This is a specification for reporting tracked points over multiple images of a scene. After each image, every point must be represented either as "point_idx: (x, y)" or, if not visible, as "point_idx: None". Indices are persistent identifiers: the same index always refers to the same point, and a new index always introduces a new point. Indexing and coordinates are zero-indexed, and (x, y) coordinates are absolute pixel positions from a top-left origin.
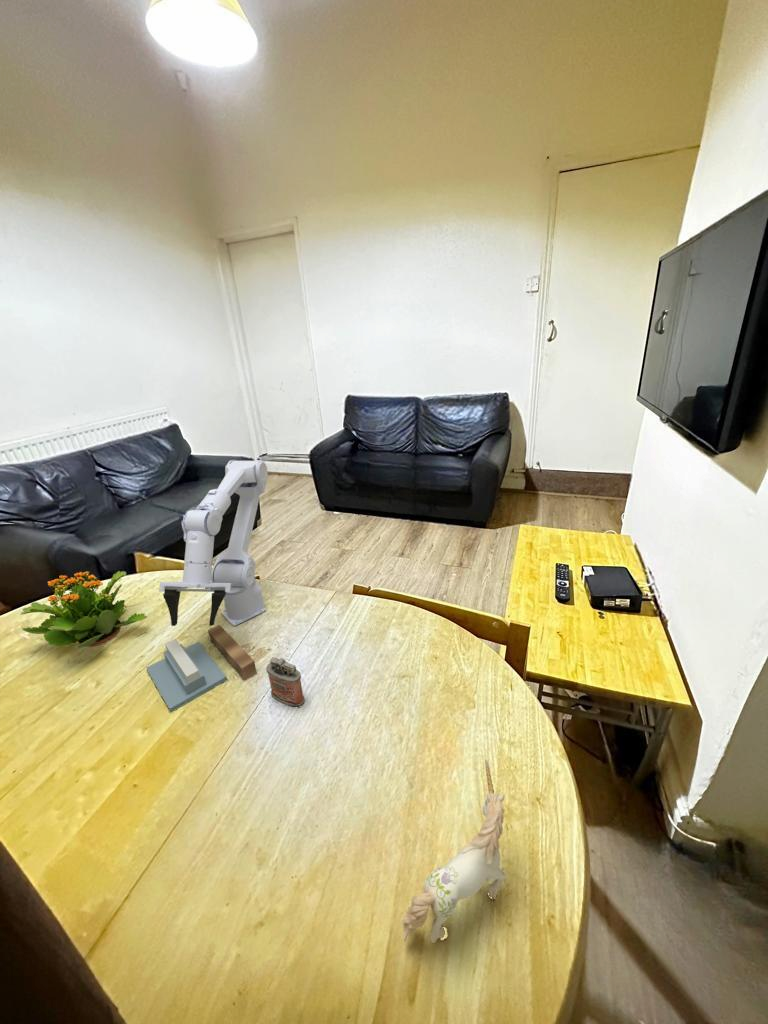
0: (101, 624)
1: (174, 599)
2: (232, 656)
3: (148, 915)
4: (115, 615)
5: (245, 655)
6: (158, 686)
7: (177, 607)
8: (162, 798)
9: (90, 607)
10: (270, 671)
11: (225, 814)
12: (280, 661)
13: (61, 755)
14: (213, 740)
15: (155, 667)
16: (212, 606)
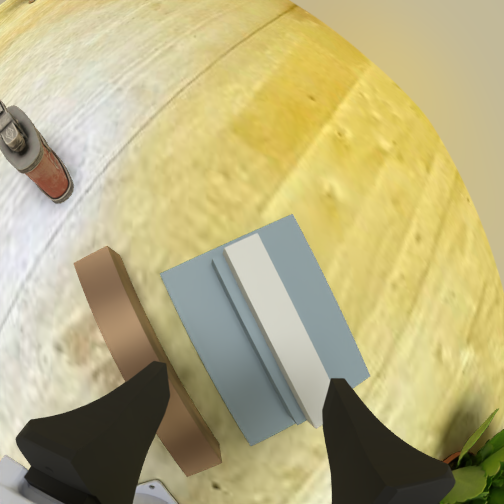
0: (471, 472)
1: (376, 468)
2: (130, 308)
3: (257, 2)
4: (450, 500)
5: (93, 296)
6: (332, 299)
7: (335, 473)
8: (267, 68)
9: (491, 500)
10: (35, 138)
11: (184, 34)
12: (2, 118)
13: (434, 199)
14: (194, 121)
15: (350, 371)
16: (113, 413)
